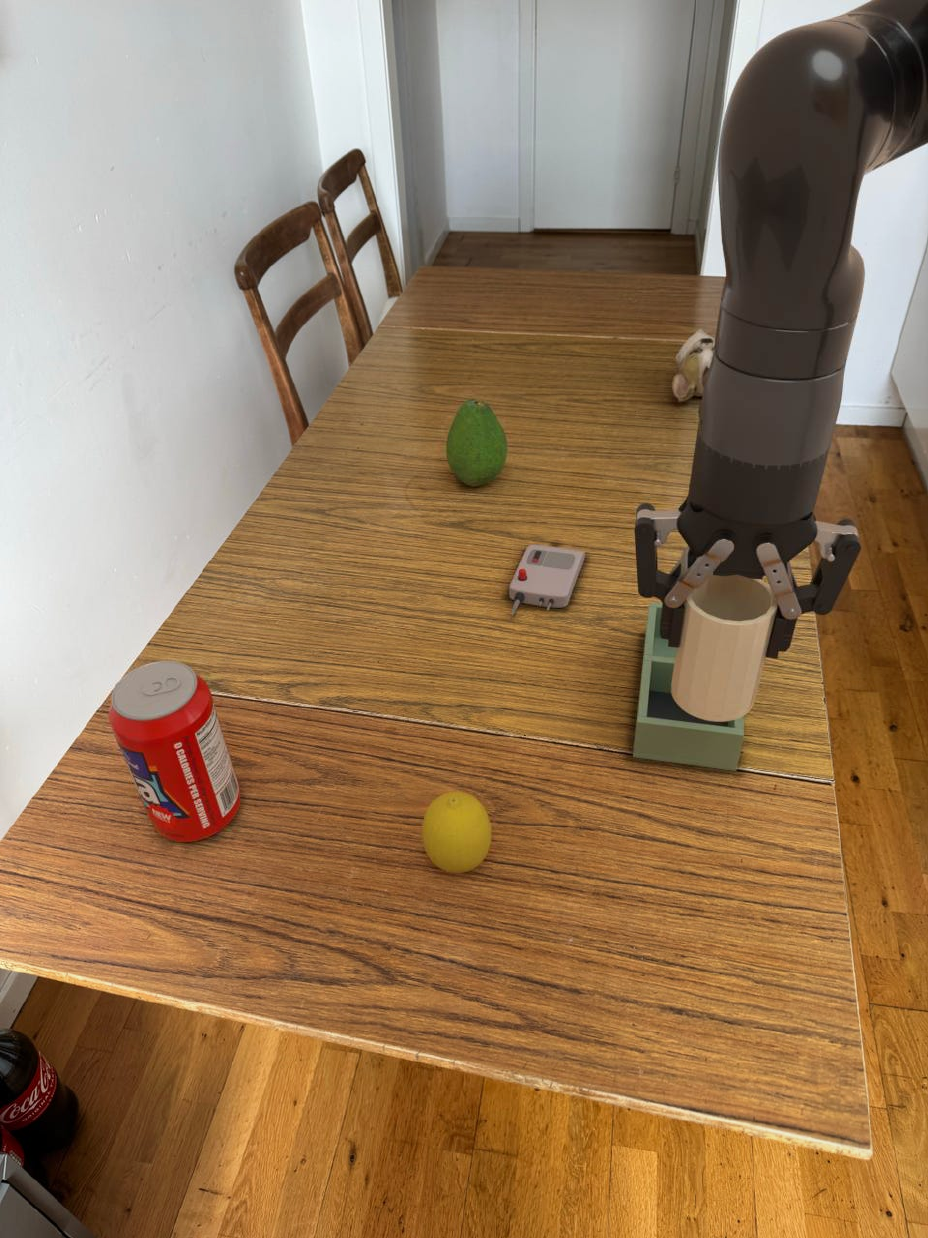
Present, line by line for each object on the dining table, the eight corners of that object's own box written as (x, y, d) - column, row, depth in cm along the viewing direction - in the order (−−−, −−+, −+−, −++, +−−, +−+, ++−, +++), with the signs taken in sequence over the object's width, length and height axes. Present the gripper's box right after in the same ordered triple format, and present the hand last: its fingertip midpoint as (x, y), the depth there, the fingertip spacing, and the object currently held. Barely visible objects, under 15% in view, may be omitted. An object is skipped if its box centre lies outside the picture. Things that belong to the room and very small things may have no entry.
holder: (736, 771, 79) (744, 735, 76) (632, 757, 81) (636, 721, 78) (734, 645, 92) (741, 610, 89) (645, 635, 94) (649, 601, 91)
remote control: (587, 549, 107) (589, 528, 105) (558, 630, 95) (559, 608, 94) (534, 542, 109) (534, 521, 107) (498, 620, 97) (498, 598, 95)
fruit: (492, 462, 124) (490, 381, 117) (517, 488, 119) (517, 405, 111) (439, 475, 122) (433, 394, 114) (462, 503, 116) (458, 418, 109)
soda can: (250, 831, 76) (212, 706, 67) (157, 860, 74) (104, 736, 65) (235, 767, 82) (198, 644, 73) (148, 792, 80) (98, 669, 71)
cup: (767, 684, 66) (791, 588, 60) (734, 734, 62) (756, 636, 56) (692, 654, 69) (708, 559, 63) (656, 700, 65) (669, 603, 59)
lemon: (451, 825, 76) (446, 762, 71) (505, 855, 73) (504, 792, 68) (411, 871, 73) (403, 808, 68) (467, 904, 70) (462, 841, 65)
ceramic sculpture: (736, 317, 138) (753, 362, 127) (728, 369, 144) (744, 416, 133) (666, 319, 139) (677, 364, 128) (661, 371, 145) (671, 418, 134)
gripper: (635, 451, 50) (614, 669, 61) (907, 469, 48) (835, 694, 58) (642, 393, 56) (622, 602, 67) (885, 406, 53) (823, 622, 64)
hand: (721, 644), depth 62 cm, fingers closed on cup, 6 cm apart
